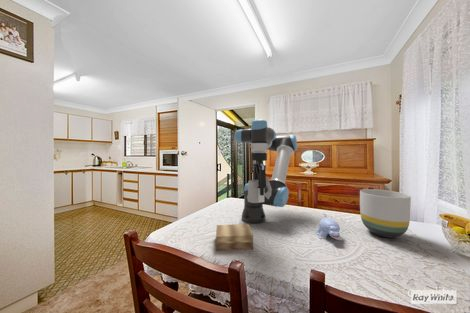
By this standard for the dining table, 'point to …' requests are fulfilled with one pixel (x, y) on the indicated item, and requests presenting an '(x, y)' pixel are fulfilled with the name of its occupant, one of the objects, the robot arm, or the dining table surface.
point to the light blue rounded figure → (328, 229)
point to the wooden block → (234, 237)
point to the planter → (385, 212)
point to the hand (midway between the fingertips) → (258, 199)
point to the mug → (253, 190)
